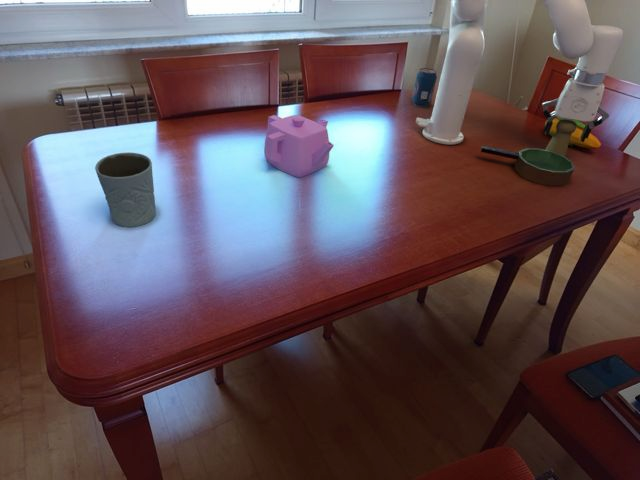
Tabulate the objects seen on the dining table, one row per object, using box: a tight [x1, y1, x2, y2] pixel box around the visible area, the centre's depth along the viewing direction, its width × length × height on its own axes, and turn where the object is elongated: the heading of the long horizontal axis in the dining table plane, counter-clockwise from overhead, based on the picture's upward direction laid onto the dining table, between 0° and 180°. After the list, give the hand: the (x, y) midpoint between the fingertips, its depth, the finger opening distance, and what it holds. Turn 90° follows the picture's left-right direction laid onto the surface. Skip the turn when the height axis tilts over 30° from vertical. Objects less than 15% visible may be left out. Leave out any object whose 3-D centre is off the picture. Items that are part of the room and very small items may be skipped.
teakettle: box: [264, 114, 335, 178], centre depth 111 cm, size 17×17×12 cm
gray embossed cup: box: [94, 152, 157, 228], centre depth 87 cm, size 10×10×12 cm
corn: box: [544, 117, 602, 150], centre depth 137 cm, size 7×8×20 cm
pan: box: [480, 144, 575, 187], centre depth 121 cm, size 24×14×4 cm, turn 69°
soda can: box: [411, 67, 438, 108], centre depth 156 cm, size 7×7×12 cm
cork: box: [544, 119, 577, 157], centre depth 128 cm, size 6×6×11 cm
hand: (564, 136), depth 127 cm, fingers open, 9 cm apart
